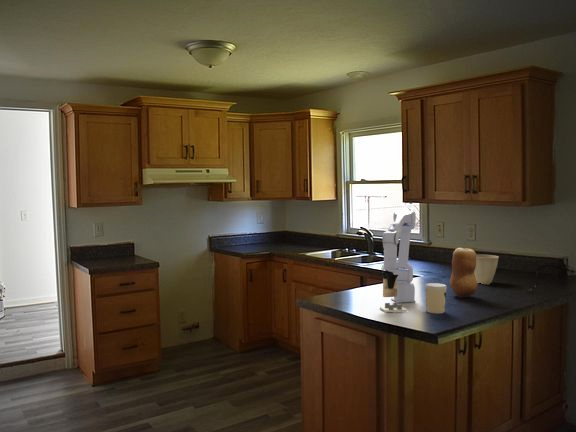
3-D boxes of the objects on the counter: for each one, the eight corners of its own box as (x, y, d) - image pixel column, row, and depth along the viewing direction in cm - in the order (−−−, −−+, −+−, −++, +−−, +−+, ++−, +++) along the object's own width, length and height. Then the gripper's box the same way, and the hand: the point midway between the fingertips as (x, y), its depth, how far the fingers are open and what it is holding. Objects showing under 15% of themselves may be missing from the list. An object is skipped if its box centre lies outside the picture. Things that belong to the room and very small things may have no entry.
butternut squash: (482, 299, 260) (483, 249, 259) (456, 300, 258) (457, 250, 257) (468, 294, 274) (469, 246, 273) (443, 294, 272) (445, 246, 271)
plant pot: (501, 286, 297) (501, 258, 296) (473, 285, 299) (474, 257, 298) (494, 281, 312) (494, 254, 311) (468, 280, 314) (468, 254, 313)
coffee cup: (449, 313, 232) (450, 286, 231) (428, 314, 231) (429, 287, 230) (441, 308, 241) (442, 282, 240) (421, 309, 240) (422, 283, 240)
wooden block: (395, 295, 240) (395, 278, 239) (397, 296, 238) (397, 279, 237) (382, 296, 239) (383, 278, 238) (384, 297, 237) (384, 279, 236)
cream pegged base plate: (400, 308, 242) (400, 301, 241) (406, 311, 235) (407, 305, 235) (379, 309, 240) (380, 302, 239) (385, 312, 233) (386, 306, 233)
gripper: (376, 256, 244) (375, 285, 244) (388, 260, 229) (387, 291, 230) (390, 255, 245) (389, 284, 246) (403, 260, 231) (402, 290, 232)
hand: (389, 288), depth 238 cm, fingers closed on wooden block, 2 cm apart
